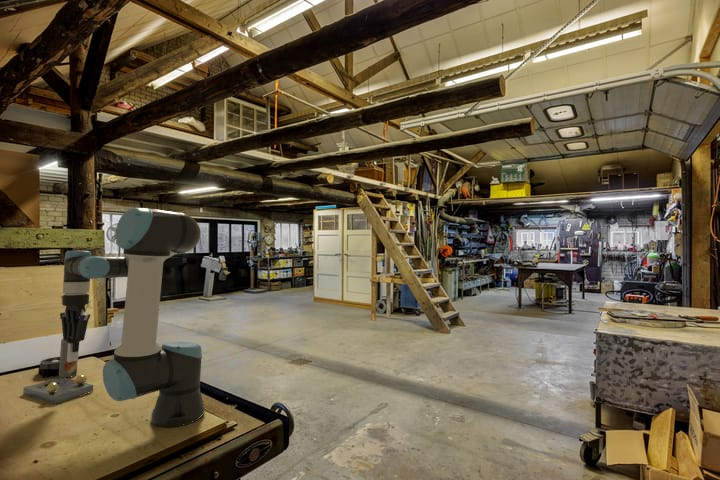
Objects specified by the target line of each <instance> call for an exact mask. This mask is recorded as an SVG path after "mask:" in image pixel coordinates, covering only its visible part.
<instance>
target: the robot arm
mask: <svg viewBox="0 0 720 480" xmlns="http://www.w3.org/2000/svg"><path fill="white" fill-rule="evenodd" d="M201 233H202V232H201V227H200V225H199V223H198V222H197V221H196V220H195V219H194V218H193V217H192V216H191V215H188V214H186V213H184V212H174V211H167V210H161V209H154V208H148V207H145V208H144V207H131V208H128V209H127V210H126V211H124V213H123V214H122V215H121V217H120V218H119V220H118V222H117V225H116V227H115V235H114V236H115V243H116V246H117V247H118V248H121V249H122V250H123V254H122V255H123V256H100V255H99V256H98V255H92V253H91V251H90V250H89V251H88V250H67V251H66V252H65V255H64V259H63V262H64V266H63V281H62V282H63V283H62V294H63V295H62V299H61V304H62V306H64V307H65V309H64V312H59V316H60V320H61V328H62V329H61V331H62V339H63V340H66V341H67V343H68V348H67V350H68V351H67V362H73V361H77V360H78V361H79V353H80V352H79V349H80V342H81V341H84V340H85V338H86V337H85V336H86V333H87V328H88V325H89V320H90V318H91V314H90V313H87V312H86V310H87V309H86V305H89V302H90V294H89V293H90V286H91V283H90V282H91V280H93V279H96V280H97V279H104V278H105V279H106V278H109V279H110V278H127V279H126V289H125V290H126V291H125V301H124V313H123V323H122V334H121V344H120V345H119V346H118V347H116V348H115V350H113V352H114V353H113V358H111V359H109V360H107V361H106V362H105V363H104V365H103V367H102V368H103V369H102V381H103V384H104V388H105V390H106V392H107V394H108V395H109V397H110V398H111V399H113V401H115V402H124V401H128V400H129V401H130V400H134V399H136V398H139V397H142V396H145V395H149V394H152V393H155V392H158V391H159V392H158V396H157V399H156V401H155V405H154V408H153V409H152V411H151V418H150V422H151V423H152V424H153V425H154V426H157V427H161V428H175V426H176V427H181V426H180V425H182V426H184V425H183V424H186V425H188V424H187V423H189V424H191V423H190V422H192V421H194V422H196V421H197V420H196V419H198V418H199V417H200V416H201V415H202V414H203V413H204V414H205V407H206V406H205V403H204V402H203V401H204V400H203V395H202V392H201V371H202V359H203V357H202V356H203V355H202V353H203V352H202V346H201V345H200V344H198V343H197V342H195V343H194V342H191V341H167V342H164V343H162V344H161V346H160V344H158V342H157V333H158V327H159V315H160V313H159V312H160V304H161V303H160V302H161V292H162V279H163V270H164V269H163V268H164V262H165V261H166V260H167V259H169V258H171V257H173V256H174V255H181V254H182V255H183V254H185V253H187V252H189V251H191V250H193V249H194V248H196V246H197V245H198V243H199V242H200V240H201V235H202V234H201ZM195 420H196V421H195ZM198 420H199V419H198ZM192 423H193V422H192Z"/></svg>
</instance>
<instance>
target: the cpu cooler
mask: <svg viewBox="0 0 720 480" xmlns="http://www.w3.org/2000/svg"><path fill="white" fill-rule="evenodd" d="M39 364H40V365H39V366H38V375H39V374H40V375H39V376H41V377H42V378H46V377H47V378H51V377H50V376H53V377H56V376H55V375H57V376H59V365H60V356H54V357H49V358H46V359H45V358H44V359H42V360H41V361H40V362H39Z"/></svg>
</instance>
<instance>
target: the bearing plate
mask: <svg viewBox="0 0 720 480" xmlns="http://www.w3.org/2000/svg"><path fill="white" fill-rule="evenodd" d="M52 382H56V383H57V384H58V385H59V388H58V390H57V391H56V392H54V393H49V392H47V390H46V389H47V386H48V384H50V383H52ZM91 391H93V392H94V384H92V383H87V382H85V383H83V384H77V383H76V379H71V378H64V377H61V378H59V377H57V378H54V379H49V380H46V381H44V382H43V381H42V382H38V383H36V384H31V385H28V386H23V393H22V395H24V396H26V397H29V398H33V399H36V400H40V401H43V402H46V403H50V404H53V405H56V404H59V403H64V402H66V401H69V400H72V399H74V398H78V397H81V396H80V395H82V396H84V395H83V394H85V393H88V392H91ZM91 393H92V392H91ZM88 394H89V393H88ZM85 395H86V394H85Z"/></svg>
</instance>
